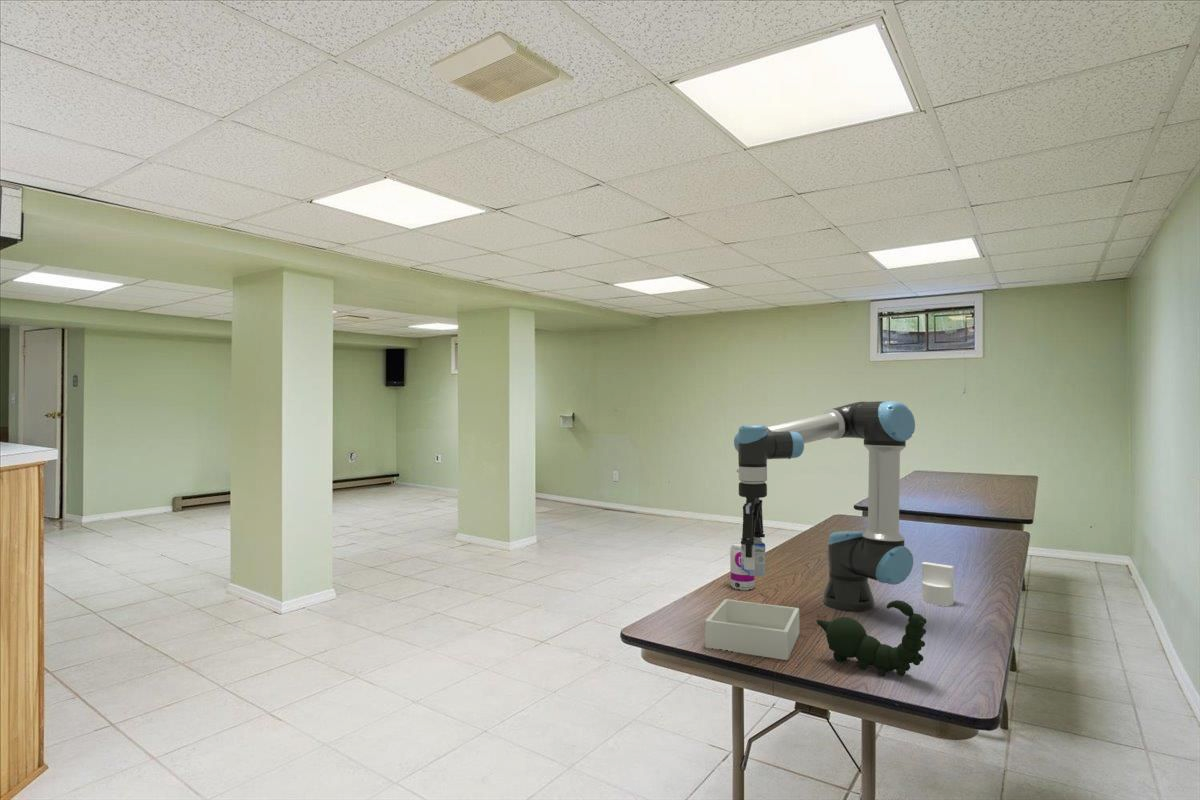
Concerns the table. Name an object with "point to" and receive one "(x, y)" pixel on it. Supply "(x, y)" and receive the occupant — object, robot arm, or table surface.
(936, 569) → the cylinder with rectangular tab
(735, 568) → the supplement can
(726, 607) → the open bin
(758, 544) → the medicine box
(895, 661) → the toy figurine
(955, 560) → the table surface
